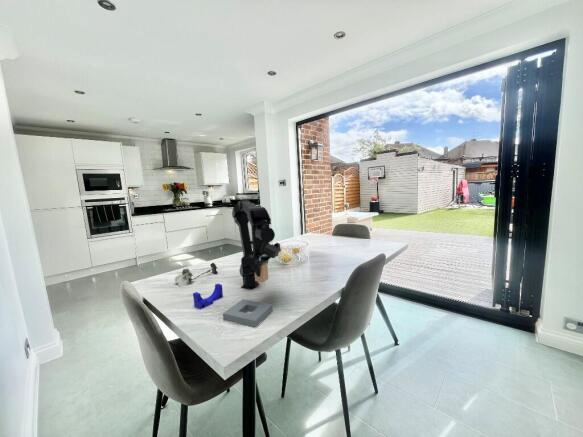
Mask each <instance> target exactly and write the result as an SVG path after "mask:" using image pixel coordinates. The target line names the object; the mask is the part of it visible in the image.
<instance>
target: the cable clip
mask: <svg viewBox="0 0 583 437" xmlns="http://www.w3.org/2000/svg"><path fill="white" fill-rule="evenodd" d="M192 296H193V298H192V299H193V307H194V308H197V309H198V310H203V309H205V308H206V307H209V306H211V305H213V304H214V302H216V301H217V300H221V299H223V298H224V292H223V285H222V284H221V283H215V284H214V290H213V292H212V293H211V294H210V296H207V297H205V298H202V294H201V293H200V292H197V291H195V292H193V293H192Z"/></svg>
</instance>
